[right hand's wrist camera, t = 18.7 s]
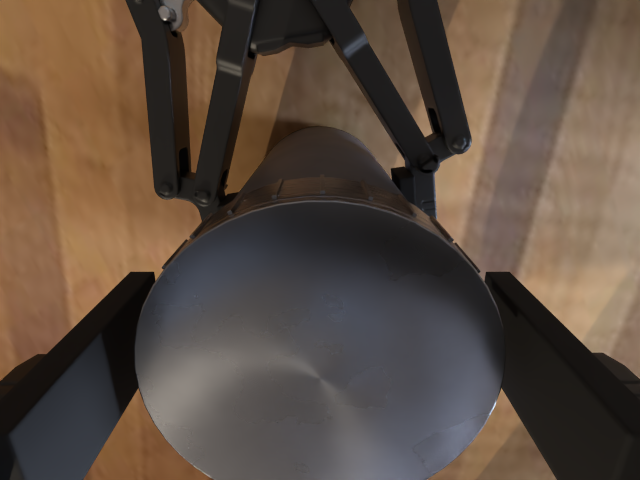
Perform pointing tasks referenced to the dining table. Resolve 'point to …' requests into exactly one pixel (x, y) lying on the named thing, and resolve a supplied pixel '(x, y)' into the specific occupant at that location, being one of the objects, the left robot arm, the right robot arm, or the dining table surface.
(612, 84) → the dining table surface
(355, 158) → the jar
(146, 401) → the lid
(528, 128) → the dining table surface
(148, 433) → the dining table surface
